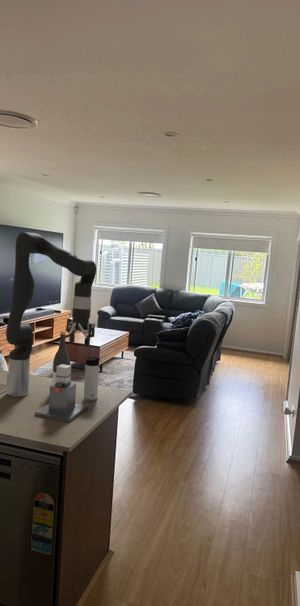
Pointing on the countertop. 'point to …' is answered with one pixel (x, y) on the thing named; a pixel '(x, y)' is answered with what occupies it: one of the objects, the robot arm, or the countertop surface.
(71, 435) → the countertop surface
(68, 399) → the stepped pedestal base
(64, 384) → the block
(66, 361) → the wine bottle
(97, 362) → the travel mug
